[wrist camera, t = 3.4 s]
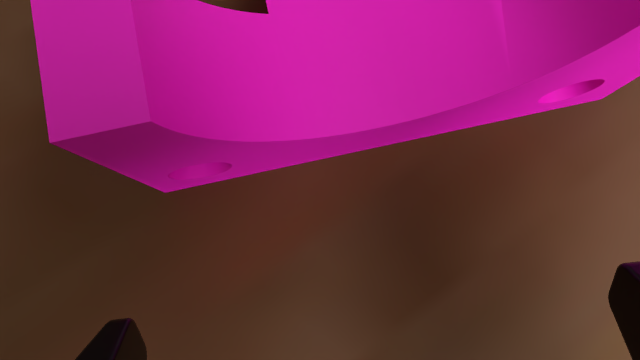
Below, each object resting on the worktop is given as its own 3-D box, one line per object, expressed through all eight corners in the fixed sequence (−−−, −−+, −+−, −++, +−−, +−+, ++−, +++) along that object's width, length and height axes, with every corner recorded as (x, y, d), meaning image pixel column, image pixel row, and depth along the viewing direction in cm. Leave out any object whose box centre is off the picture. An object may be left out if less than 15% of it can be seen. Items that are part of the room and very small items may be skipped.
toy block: (547, -63, 19) (687, -273, 11) (598, 100, 18) (787, -15, 10) (138, 23, 19) (12, -135, 11) (167, 193, 18) (49, 142, 10)
